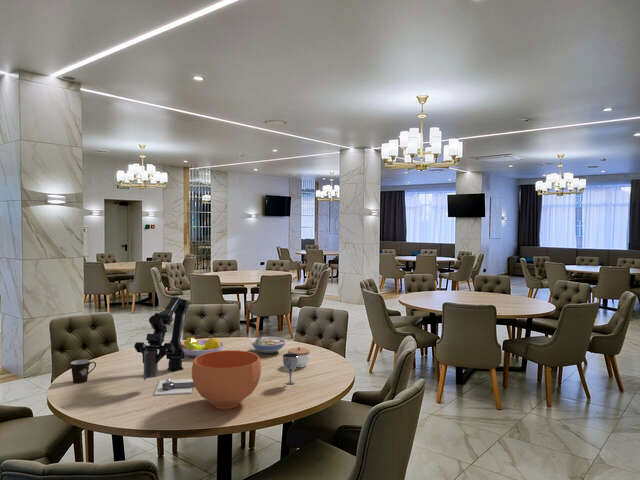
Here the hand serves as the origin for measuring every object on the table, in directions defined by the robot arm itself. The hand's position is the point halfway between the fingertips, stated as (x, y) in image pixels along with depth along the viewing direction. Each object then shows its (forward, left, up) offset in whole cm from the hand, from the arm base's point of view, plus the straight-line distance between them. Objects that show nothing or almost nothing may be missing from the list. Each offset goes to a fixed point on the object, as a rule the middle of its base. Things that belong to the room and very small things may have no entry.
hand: (149, 363), depth 219 cm
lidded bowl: (-78, +27, -14) cm, 84 cm away
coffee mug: (+14, -39, -14) cm, 43 cm away
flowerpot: (-13, +41, -14) cm, 46 cm away
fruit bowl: (-56, -35, -14) cm, 67 cm away
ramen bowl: (-88, -8, -14) cm, 90 cm away
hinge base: (-11, +5, -13) cm, 18 cm away
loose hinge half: (+1, 0, -7) cm, 7 cm away
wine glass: (-51, +45, -14) cm, 70 cm away
